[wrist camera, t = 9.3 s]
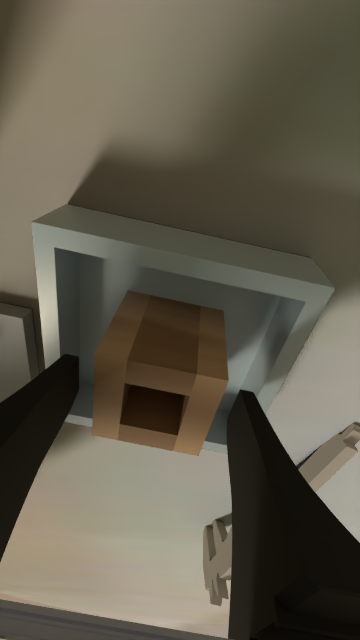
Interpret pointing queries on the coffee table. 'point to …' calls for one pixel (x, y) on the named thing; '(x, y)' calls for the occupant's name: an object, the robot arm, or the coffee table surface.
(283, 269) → the tray
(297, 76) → the coffee table surface
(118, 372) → the block
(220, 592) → the caliper
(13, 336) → the grey peg base
